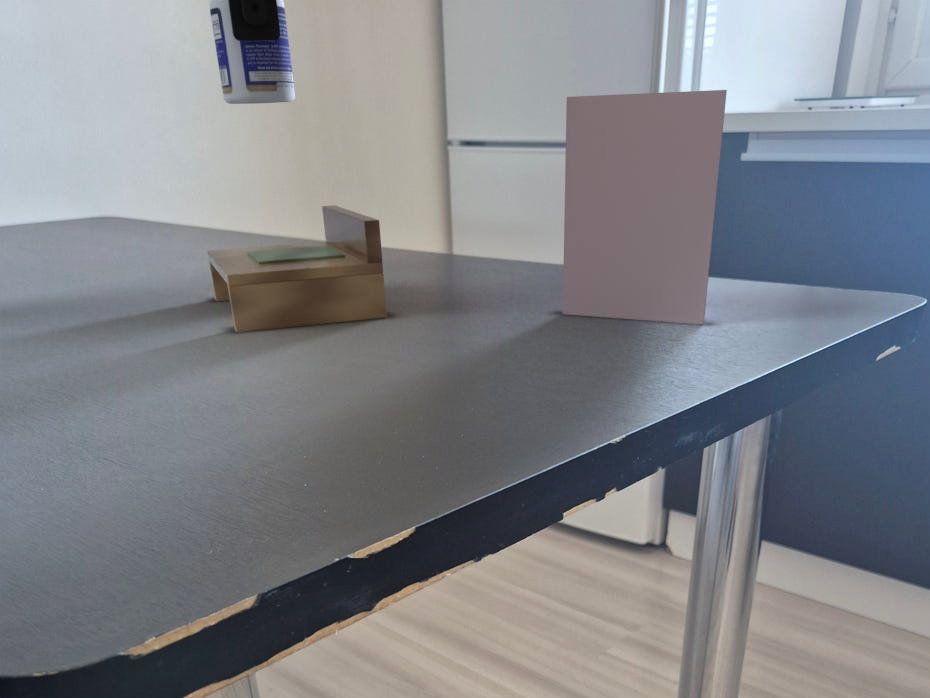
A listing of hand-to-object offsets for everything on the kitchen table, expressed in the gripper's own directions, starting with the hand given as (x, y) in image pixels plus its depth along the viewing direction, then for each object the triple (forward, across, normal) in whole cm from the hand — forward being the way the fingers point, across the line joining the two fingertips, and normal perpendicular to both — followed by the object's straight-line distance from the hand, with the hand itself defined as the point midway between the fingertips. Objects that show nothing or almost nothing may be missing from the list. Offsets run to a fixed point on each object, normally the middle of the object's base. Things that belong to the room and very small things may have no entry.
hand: (251, 40), depth 63 cm
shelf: (+19, -2, +1) cm, 19 cm away
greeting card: (+19, +15, +24) cm, 34 cm away
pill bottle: (+4, 0, 0) cm, 4 cm away
